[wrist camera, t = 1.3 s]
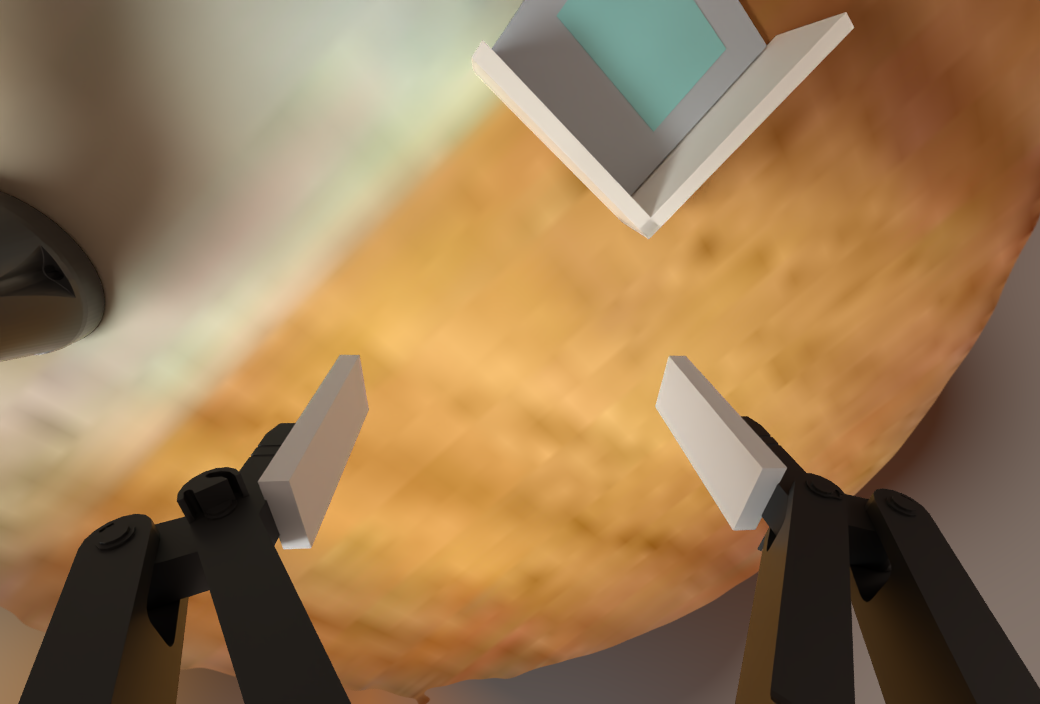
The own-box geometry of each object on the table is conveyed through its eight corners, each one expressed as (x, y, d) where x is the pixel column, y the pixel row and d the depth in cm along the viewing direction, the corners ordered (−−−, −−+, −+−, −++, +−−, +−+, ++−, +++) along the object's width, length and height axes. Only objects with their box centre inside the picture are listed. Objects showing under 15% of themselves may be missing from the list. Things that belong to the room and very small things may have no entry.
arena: (473, 72, 31) (471, 57, 25) (643, -183, 25) (694, -283, 19) (622, 222, 38) (648, 239, 32) (783, 47, 32) (854, 27, 26)
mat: (489, 53, 31) (489, 51, 30) (631, -159, 26) (635, -167, 25) (626, 197, 37) (628, 198, 36) (762, 47, 32) (767, 45, 31)
